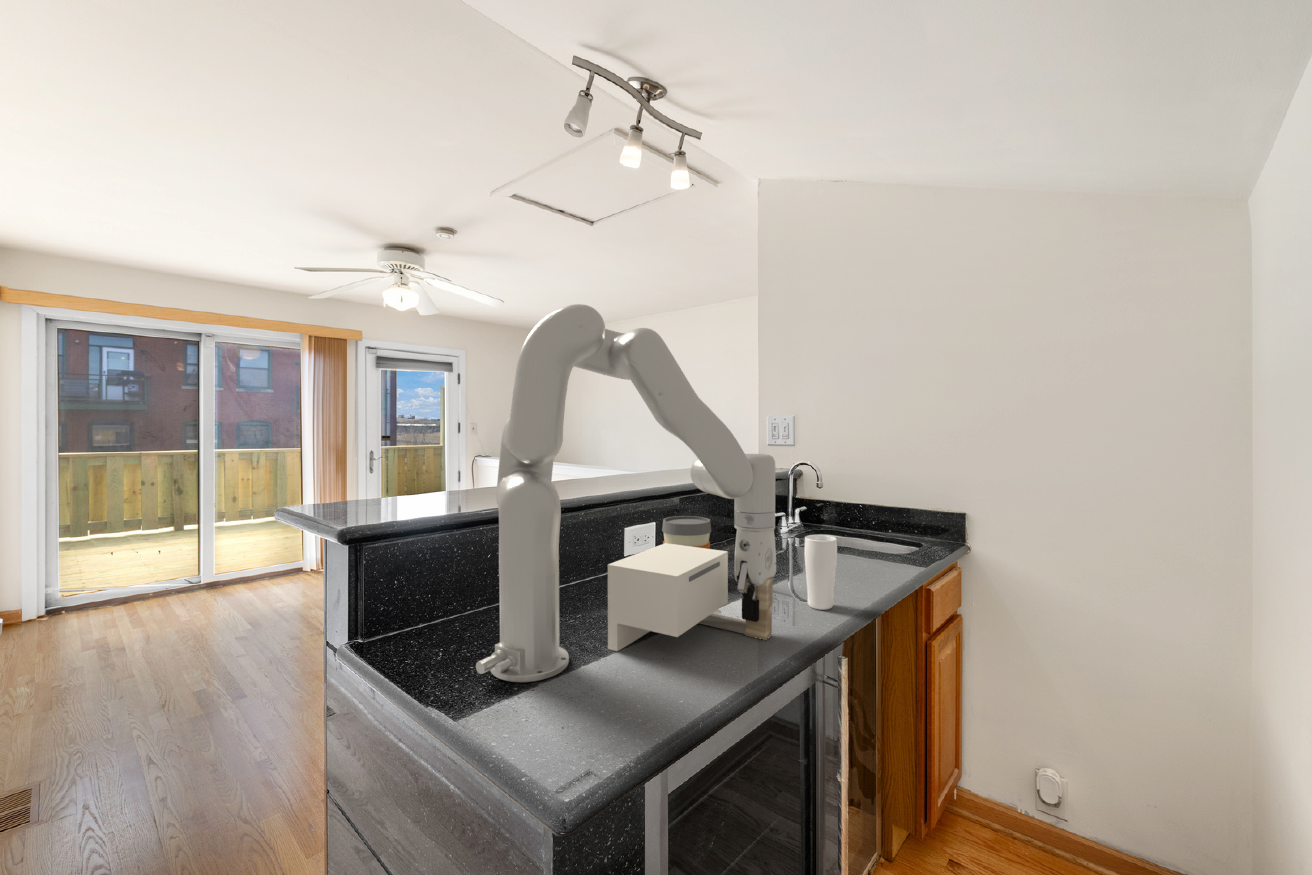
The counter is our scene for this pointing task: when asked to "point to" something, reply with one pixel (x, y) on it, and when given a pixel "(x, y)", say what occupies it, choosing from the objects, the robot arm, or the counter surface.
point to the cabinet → (664, 591)
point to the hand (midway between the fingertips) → (754, 616)
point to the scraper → (748, 627)
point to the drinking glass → (820, 570)
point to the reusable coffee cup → (687, 531)
